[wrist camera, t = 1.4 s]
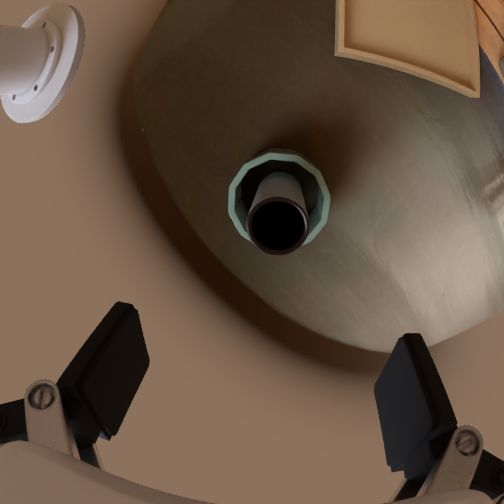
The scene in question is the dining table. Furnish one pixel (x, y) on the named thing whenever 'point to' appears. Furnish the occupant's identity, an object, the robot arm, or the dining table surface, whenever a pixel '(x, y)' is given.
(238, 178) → the sleeve
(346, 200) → the dining table surface
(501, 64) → the flower pot
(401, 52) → the tray
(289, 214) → the grey cylinder
